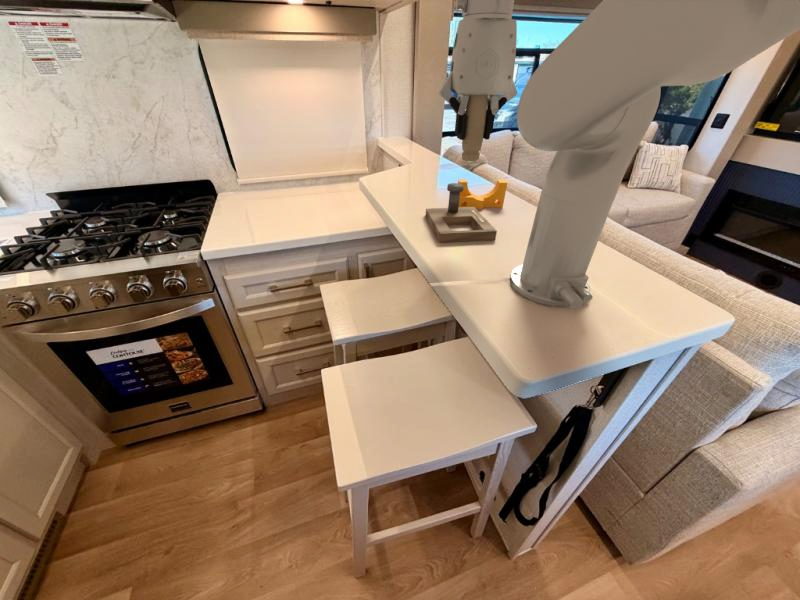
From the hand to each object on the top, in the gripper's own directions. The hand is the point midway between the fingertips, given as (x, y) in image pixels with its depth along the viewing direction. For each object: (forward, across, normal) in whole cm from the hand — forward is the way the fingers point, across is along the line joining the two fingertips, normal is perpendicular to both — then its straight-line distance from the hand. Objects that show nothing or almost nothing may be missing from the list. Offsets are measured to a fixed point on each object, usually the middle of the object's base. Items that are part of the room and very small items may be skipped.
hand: (472, 137), depth 61 cm
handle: (+4, 0, 0) cm, 4 cm away
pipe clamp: (+19, +10, +16) cm, 27 cm away
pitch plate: (+19, 0, +3) cm, 19 cm away
